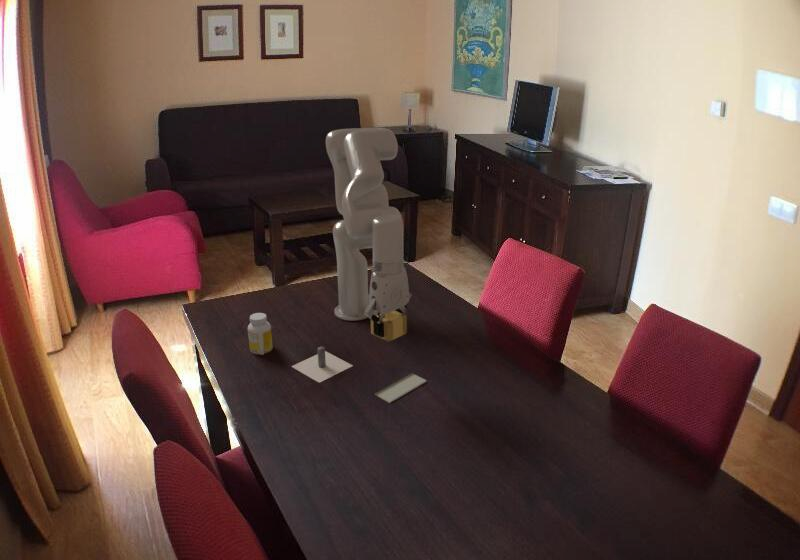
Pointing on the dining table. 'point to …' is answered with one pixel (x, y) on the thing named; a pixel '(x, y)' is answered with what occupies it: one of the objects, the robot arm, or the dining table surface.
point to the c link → (393, 325)
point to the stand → (322, 366)
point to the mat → (400, 387)
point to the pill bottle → (259, 334)
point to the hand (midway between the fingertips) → (388, 330)
